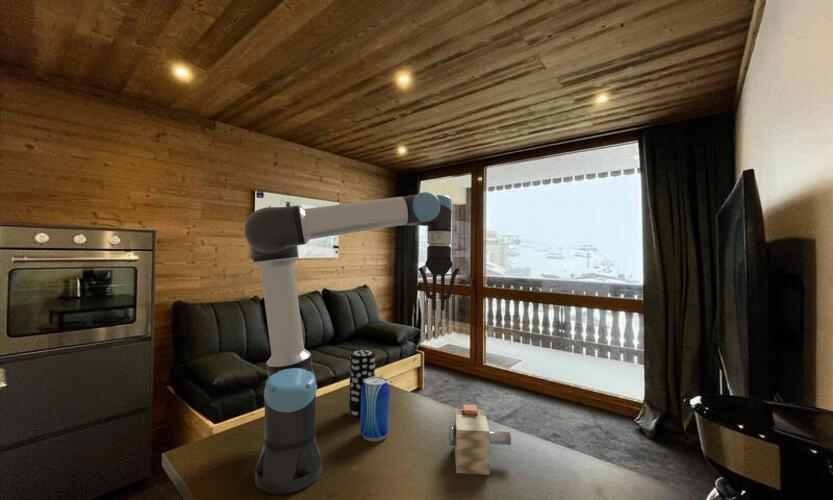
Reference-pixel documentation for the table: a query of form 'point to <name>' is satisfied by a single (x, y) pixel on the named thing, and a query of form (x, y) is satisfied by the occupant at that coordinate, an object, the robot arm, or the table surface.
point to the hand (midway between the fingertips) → (438, 320)
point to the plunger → (470, 409)
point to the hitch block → (472, 443)
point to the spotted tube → (359, 378)
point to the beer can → (375, 409)
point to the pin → (495, 437)
